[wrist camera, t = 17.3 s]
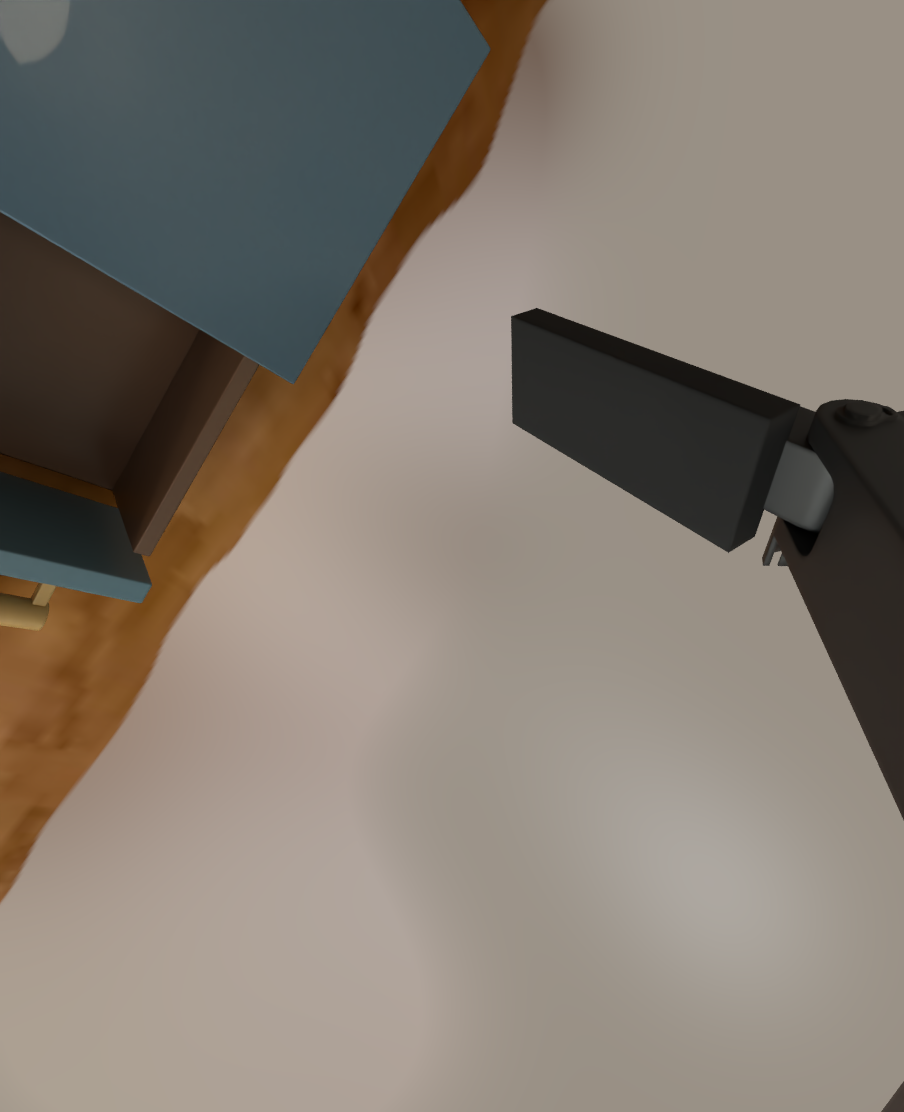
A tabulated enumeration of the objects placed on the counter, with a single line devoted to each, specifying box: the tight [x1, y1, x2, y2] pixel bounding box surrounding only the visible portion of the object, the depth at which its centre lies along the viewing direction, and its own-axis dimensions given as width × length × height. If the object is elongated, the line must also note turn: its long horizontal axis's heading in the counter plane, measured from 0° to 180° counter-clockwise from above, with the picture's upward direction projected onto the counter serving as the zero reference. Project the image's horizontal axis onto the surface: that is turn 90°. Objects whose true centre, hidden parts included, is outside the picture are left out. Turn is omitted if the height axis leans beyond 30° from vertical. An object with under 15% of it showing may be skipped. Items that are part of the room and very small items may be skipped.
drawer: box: [0, 212, 259, 631], centre depth 25 cm, size 19×12×8 cm, turn 140°
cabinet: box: [0, 0, 490, 384], centre depth 23 cm, size 16×14×10 cm
